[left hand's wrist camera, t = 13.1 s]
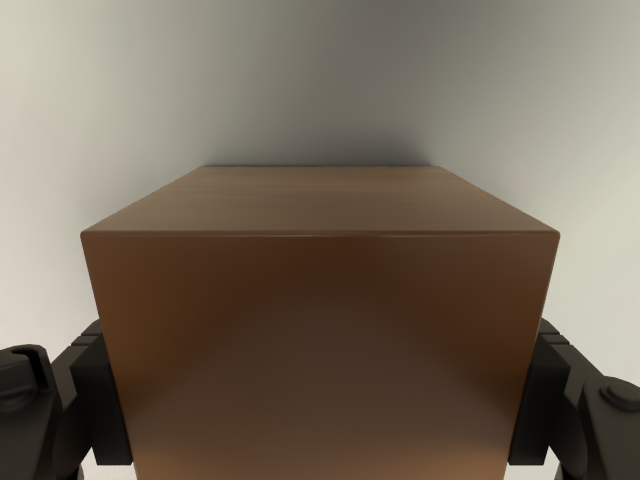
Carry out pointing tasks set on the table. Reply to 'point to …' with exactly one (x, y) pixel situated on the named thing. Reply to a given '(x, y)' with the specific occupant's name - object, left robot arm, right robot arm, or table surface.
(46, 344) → the table surface
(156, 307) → the brown wooden bar
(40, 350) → the left robot arm
